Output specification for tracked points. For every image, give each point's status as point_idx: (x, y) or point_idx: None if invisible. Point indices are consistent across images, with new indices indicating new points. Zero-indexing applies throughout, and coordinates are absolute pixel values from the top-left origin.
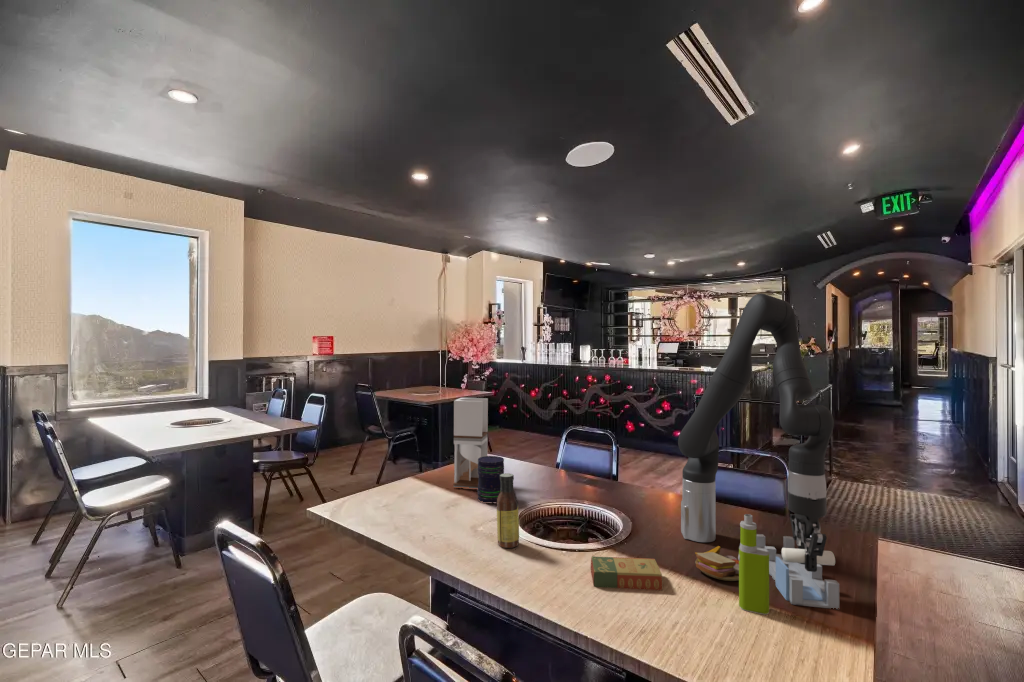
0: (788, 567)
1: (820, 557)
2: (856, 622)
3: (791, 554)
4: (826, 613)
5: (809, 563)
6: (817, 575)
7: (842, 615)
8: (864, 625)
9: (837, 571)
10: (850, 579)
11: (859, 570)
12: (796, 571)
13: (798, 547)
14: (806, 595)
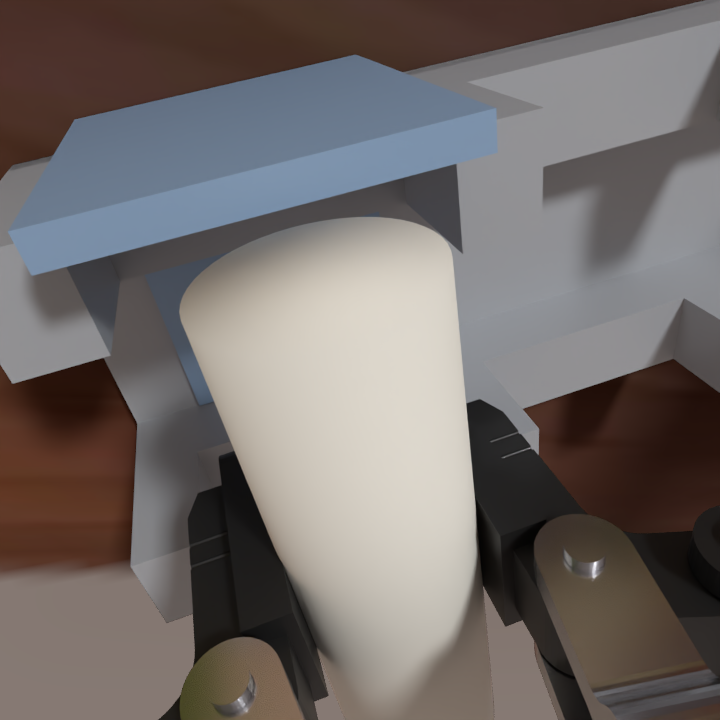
0: (444, 237)
1: (332, 685)
2: (30, 537)
3: (235, 424)
4: (38, 402)
5: (195, 564)
6: None
7: (81, 479)
8: (19, 567)
9: (667, 458)
10: (585, 504)
11: (681, 530)
12: (633, 261)
13: (531, 518)
14: None
